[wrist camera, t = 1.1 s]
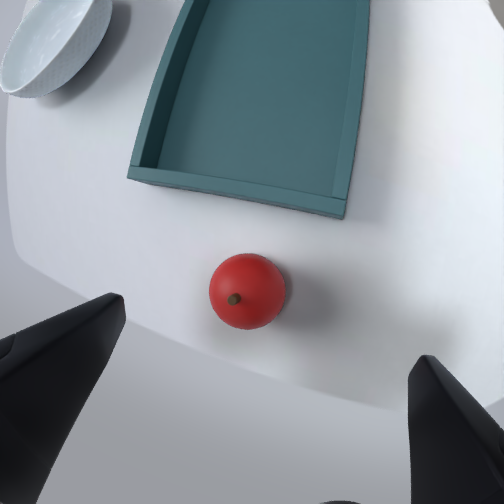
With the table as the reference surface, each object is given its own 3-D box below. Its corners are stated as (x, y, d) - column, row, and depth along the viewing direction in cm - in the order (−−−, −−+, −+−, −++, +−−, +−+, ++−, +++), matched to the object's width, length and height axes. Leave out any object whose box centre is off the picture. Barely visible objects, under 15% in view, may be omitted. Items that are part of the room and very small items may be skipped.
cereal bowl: (21, 108, 31) (-16, 95, 24) (69, 10, 29) (40, -10, 22) (92, 111, 27) (44, 89, 20) (153, -9, 25) (123, -43, 18)
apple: (281, 326, 23) (265, 353, 17) (218, 309, 24) (185, 328, 18) (297, 260, 22) (285, 267, 17) (231, 245, 23) (199, 247, 18)
